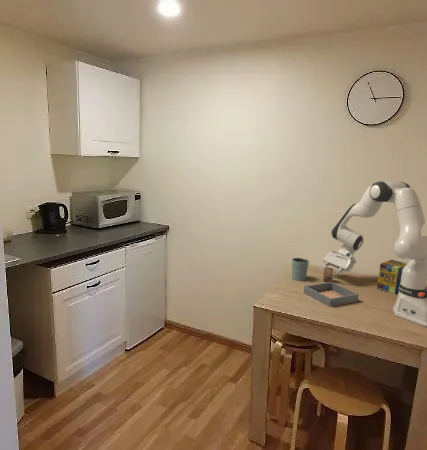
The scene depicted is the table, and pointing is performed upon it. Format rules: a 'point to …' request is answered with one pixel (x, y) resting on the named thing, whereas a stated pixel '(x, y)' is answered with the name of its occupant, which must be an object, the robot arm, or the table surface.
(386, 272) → the protein box
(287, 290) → the table surface
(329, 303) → the shallow gray dish
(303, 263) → the teal cup
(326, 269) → the walnut post
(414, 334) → the table surface
